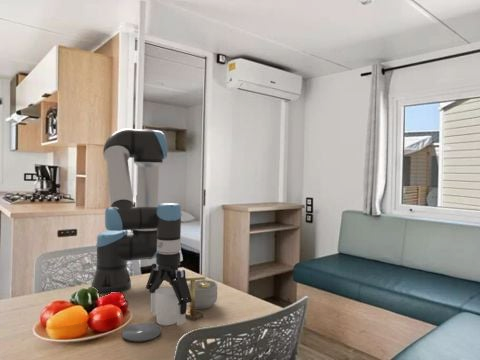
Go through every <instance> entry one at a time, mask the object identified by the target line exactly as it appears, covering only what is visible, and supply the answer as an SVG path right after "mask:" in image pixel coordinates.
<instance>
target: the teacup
mask: <svg viewBox="0 0 480 360" xmlns="http://www.w3.org/2000/svg"><path fill="white" fill-rule="evenodd" d="M203 282H205V283H210V287H208V288H200V287H198V284H199V283H203ZM187 284H188V288H189V292H190V282H189V283H187ZM217 299H218V282H216V281H215V280H210V279H209V280H208V279H207V278H206V279H205V281H204V280H195V309H197V310H207V309H210V308H211V307H213V305H215V303H216V302H217ZM189 304H190V302H189Z"/></svg>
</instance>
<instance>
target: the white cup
mask: <svg viewBox="0 0 480 360" xmlns="http://www.w3.org/2000/svg"><path fill="white" fill-rule="evenodd" d="M155 303H156V312H155V315H156V324H157V325H159V326H171V325H174V324H177V304H178V303H179V301H178V299H177V296H176V294H175V292H174V290H173V287H172V286H162V287H161V286H160V287H159V288H158V289H156V290H155Z"/></svg>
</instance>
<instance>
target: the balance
mask: <svg viewBox="0 0 480 360" xmlns="http://www.w3.org/2000/svg"><path fill="white" fill-rule="evenodd" d="M205 279H206V280H207V278H206V276H204V275H203V276H194V277H186V281H187V282H188V281H189V283H190V295H191V299H192V301H191V302H190V303H189V308H186V313H185V319H189V320H191V321H194V322H196V321H199V320H202V319H203V318H205V317H204V316H205V314H204V313H203V312H200V311H197V310H195V309H196V308H195V281H200V280H204V281H205ZM198 287H200V288H208V287H210V283H205V282H203V283H199V284H198Z"/></svg>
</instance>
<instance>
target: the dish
mask: <svg viewBox="0 0 480 360" xmlns="http://www.w3.org/2000/svg"><path fill="white" fill-rule="evenodd" d="M161 332H162V327H161V325H160V324H158V323H153V322H138V323H133V324H131V325H129V326H126V327H125V328H124V329H122V333H121V334H122V337H123V338H124V339H125V340H127V341H131V342H135V343H136V342H137V343H139V342H142V343H143V342H147V341H150V340H153V339H155V338H157V337H158V336H159V335H161Z"/></svg>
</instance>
